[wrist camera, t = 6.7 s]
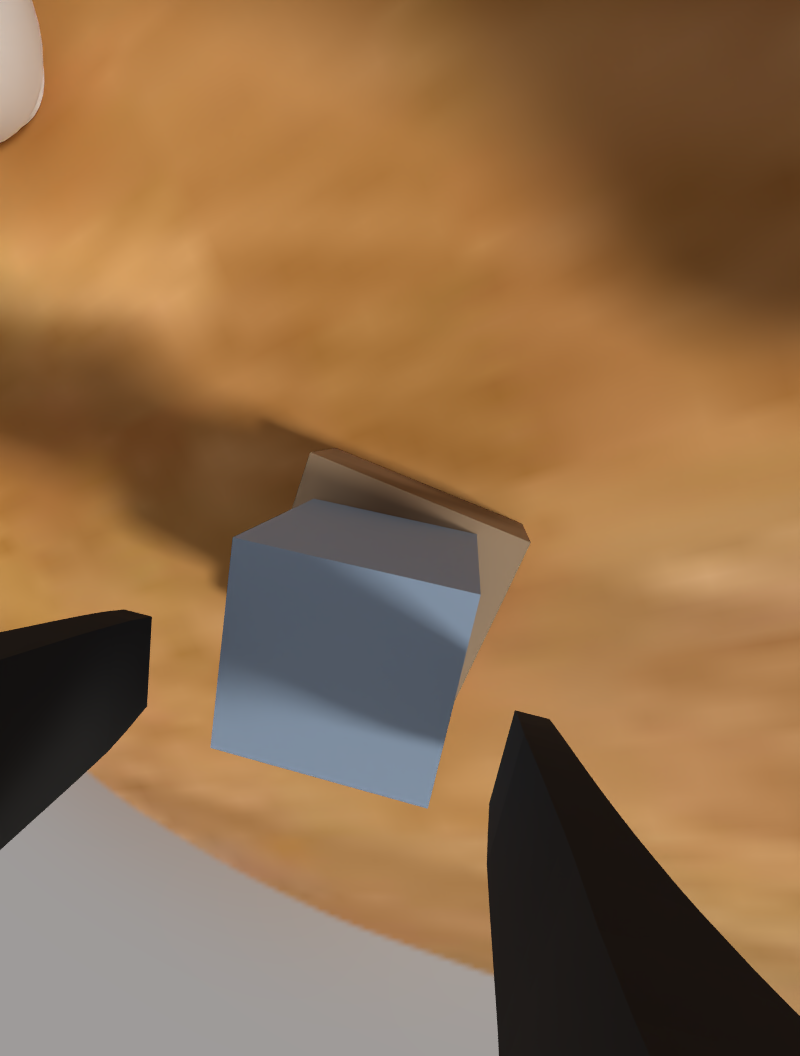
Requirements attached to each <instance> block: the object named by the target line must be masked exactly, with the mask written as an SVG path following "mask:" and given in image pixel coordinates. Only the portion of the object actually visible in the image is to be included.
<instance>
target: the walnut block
mask: <svg viewBox="0 0 800 1056" xmlns="http://www.w3.org/2000/svg"><path fill="white" fill-rule="evenodd" d="M312 499H318V500H323V501H327V502H332V503H336V504H341V505H345V506H350V507H355V508H359V509H364V510H368V511H373V512H377V513H382V514H387V515H391V516H396V517H400V518H405V519H409V520H414V521H419V522H423V523H428V524H432V525H437V526H441V527H446V528H451V529H455V530H460V531H464V532H469V533H473V534H477V544H478V560H479V575H480V591H481V596H480V600H479V604H478V608H477V612H476V616H475V620H474V624H473V628H472V632H471V636H470V640H469V644H468V648H467V652H466V656H465V660H464V664H463V668H462V672H461V676H460V680H459V684H458V688H457V692H456V696H455V699H456V697H457V695H458V693H459V691H460V689H461V687H462V685H463V683H464V681H465V678H466V676H467V674H468V672H469V670H470V668H471V666H472V664H473V662H474V660H475V658H476V655H477V653H478V651H479V649H480V647H481V645H482V643H483V641H484V639H485V637H486V635H487V633H488V630H489V628H490V626H491V624H492V622H493V620H494V618H495V616H496V614H497V612H498V610H499V607H500V605H501V603H502V601H503V599H504V597H505V595H506V593H507V591H508V589H509V587H510V585H511V582H512V580H513V578H514V576H515V574H516V572H517V570H518V568H519V566H520V564H521V562H522V559H523V557H524V555H525V553H526V551H527V549H528V547H529V545H530V543H531V542H530V540H529V538H528V536H527V533H526V531H525V529H524V527H523V525H522V524H521V523H518V522H516V521H514V520H511V519H509V518H506V517H504V516H501V515H499V514H496V513H494V512H492V511H489V510H487V509H484V508H482V507H479V506H477V505H474V504H472V503H469V502H467V501H465V500H462V499H460V498H457V497H455V496H452V495H450V494H447V493H445V492H442V491H440V490H438V489H435V488H433V487H430V486H428V485H425V484H423V483H420V482H418V481H415V480H413V479H411V478H408V477H406V476H403V475H401V474H398V473H396V472H393V471H391V470H388V469H386V468H384V467H381V466H379V465H376V464H374V463H371V462H369V461H366V460H364V459H361V458H359V457H357V456H354V455H352V454H349V453H347V452H344V451H342V450H339V449H337V448H333V449H327V450H321V451H314V452H310V454H309V458H308V461H307V464H306V467H305V470H304V473H303V476H302V479H301V482H300V485H299V488H298V491H297V495H296V498H295V501H294V504H293V507H292V509H293V508H295V507H297V506H299V505H302V504H304V503H306V502H308V501H310V500H312ZM454 701H455V700H454Z"/></svg>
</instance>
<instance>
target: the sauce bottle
mask: <svg viewBox="0 0 800 1056" xmlns="http://www.w3.org/2000/svg"><path fill="white" fill-rule="evenodd" d="M43 92H44V67H43V45H42V39H41V33H40V27H39V22H38V19H37V15H36V12H35V9H34V5H33V2H32V0H0V143H1V142H3V141H5V140H7V139H8V138H10V137H11V136H12V135H14V134H15V133H17V132H18V131H19V130H20V128H21V127H23V126H24V125H26V124H27V123H28V122H29V121H30V120H31V119H32V118H33V117H34V116H35V114H36V112H37V110H38V109H39V107H40V104H41V101H42V97H43Z"/></svg>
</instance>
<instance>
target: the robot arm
mask: <svg viewBox="0 0 800 1056" xmlns="http://www.w3.org/2000/svg"><path fill="white" fill-rule="evenodd" d="M151 622H152V617H151V616H147V615H143V614H139V613H135V612H132V611H128V610H116V611H107V612H100V613H94V614H89V615H83V616H78V617H73V618H68V619H62V620H58V621H53V622H48V623H43V624H38V625H33V626H29V627H24V628H19V629H14V630H9V631H4V632H0V849H2V848H3V847H4V846H5V845H6V844H7V843H8V842H9V841H10V840H12V839H13V838H14V837H15V836H16V835H17V834H18V833H19V832H20V831H21V830H22V829H24V828H25V827H26V826H27V825H28V824H29V823H30V822H31V821H32V820H34V819H35V818H36V817H37V816H38V815H39V814H40V813H41V812H43V811H44V810H45V809H46V808H47V807H48V806H49V805H50V804H51V803H52V802H53V801H55V800H56V799H57V798H58V797H59V796H60V795H61V794H62V793H63V792H65V791H66V790H67V789H68V788H69V787H70V786H71V785H72V784H73V783H74V782H76V781H77V780H78V779H79V778H80V777H81V776H82V775H83V774H84V773H85V772H86V771H87V770H89V769H90V768H91V767H92V766H93V765H94V764H95V763H96V762H97V761H98V760H99V759H100V758H101V757H102V756H104V755H105V754H106V753H107V752H108V751H109V750H110V749H111V747H112V746H113V745H114V744H115V743H116V742H117V741H118V740H119V739H120V737H121V736H122V735H123V734H124V733H125V732H126V731H127V730H128V728H129V727H130V726H131V725H132V724H133V722H134V721H135V720H136V719H137V718H138V716H139V715H140V714H141V713H142V712H143V710H144V709H145V708H146V707H147V695H148V677H149V659H150V640H151ZM487 874H488V890H489V906H490V922H491V936H492V951H493V966H494V981H495V995H496V1010H497V1025H498V1042H499V1056H800V1016H799V1015H798V1014H797V1013H796V1012H795V1011H794V1010H793V1009H792V1008H791V1007H790V1006H789V1005H788V1004H787V1003H786V1002H785V1001H784V1000H783V999H782V998H781V997H780V996H779V995H778V994H777V993H776V992H775V991H774V990H773V989H772V988H771V987H770V986H769V985H768V984H767V982H766V981H765V980H764V979H763V978H762V977H761V976H760V975H759V974H758V973H757V972H756V971H755V970H754V969H753V968H752V967H751V966H750V965H749V964H748V963H747V962H746V961H745V959H744V958H743V957H742V956H741V955H740V954H739V953H738V952H737V951H736V950H735V949H734V948H733V947H732V946H731V944H730V943H729V942H728V941H727V940H726V939H725V938H724V937H723V936H722V935H721V934H720V933H719V932H718V930H717V929H716V928H715V927H714V926H713V925H712V924H711V923H710V922H709V921H708V920H707V919H706V918H705V917H704V915H703V914H702V913H701V912H700V911H699V910H698V909H697V908H696V907H695V905H694V904H693V903H692V902H691V901H690V900H689V899H688V897H687V896H686V895H685V894H684V893H683V892H682V891H681V890H680V888H679V887H678V886H677V885H676V884H675V883H674V881H673V880H672V879H671V878H670V877H669V875H668V874H667V873H666V872H665V871H664V869H663V868H662V867H661V866H660V865H659V863H658V862H657V861H656V860H655V859H654V857H653V856H652V855H651V854H650V853H649V851H648V850H647V849H646V848H645V846H644V845H643V844H642V843H641V842H640V840H639V839H638V838H637V837H636V835H635V834H634V833H633V832H632V830H631V829H630V828H629V826H628V825H627V824H626V823H625V821H624V820H623V819H622V818H621V816H620V815H619V814H618V812H617V811H616V810H615V808H614V807H613V806H612V804H611V803H610V802H609V800H608V799H607V798H606V796H605V795H604V794H603V792H602V791H601V790H600V788H599V787H598V786H597V784H596V783H595V782H594V780H593V779H592V778H591V776H590V775H589V773H588V772H587V771H586V769H585V768H584V766H583V765H582V764H581V762H580V761H579V759H578V758H577V757H576V755H575V754H574V752H573V751H572V750H571V748H570V747H569V745H568V744H567V743H566V741H565V740H564V738H563V737H562V736H561V734H560V733H559V731H558V730H557V729H556V727H555V726H554V725H553V723H552V722H551V721H550V719H547V718H543V717H539V716H535V715H531V714H527V713H523V712H519V711H516V710H515V712H514V716H513V720H512V723H511V727H510V731H509V734H508V738H507V741H506V745H505V749H504V752H503V756H502V760H501V763H500V767H499V770H498V774H497V778H496V781H495V785H494V789H493V792H492V796H491V799H490V803H489V823H488V847H487Z"/></svg>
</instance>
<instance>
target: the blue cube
mask: <svg viewBox="0 0 800 1056" xmlns="http://www.w3.org/2000/svg"><path fill="white" fill-rule="evenodd" d="M480 596H481V591H480V575H479V560H478V544H477V534H473V533H469V532H464V531H460V530H455V529H451V528H446V527H441V526H437V525H432V524H428V523H423V522H419V521H414V520H409V519H405V518H400V517H396V516H391V515H387V514H382V513H377V512H373V511H368V510H364V509H359V508H355V507H350V506H345V505H341V504H336V503H332V502H327V501H323V500H318V499H312V500H310V501H308V502H306V503H304V504H302V505H299V506H297V507H295V508H293V509H291V510H289V511H287V512H285V513H283V514H281V515H279V516H276V517H274V518H272V519H270V520H268V521H266V522H264V523H262V524H260V525H258V526H255V527H253V528H251V529H249V530H247V531H245V532H243V533H241V534H239V535H237V536H234V537H233V540H232V550H231V559H230V569H229V578H228V588H227V597H226V607H225V616H224V625H223V635H222V644H221V654H220V663H219V673H218V682H217V692H216V701H215V711H214V720H213V730H212V739H211V748H213V749H217V750H220V751H224V752H228V753H231V754H235V755H238V756H242V757H245V758H249V759H253V760H256V761H260V762H263V763H267V764H270V765H274V766H278V767H281V768H285V769H288V770H292V771H295V772H299V773H303V774H306V775H310V776H313V777H317V778H320V779H324V780H328V781H331V782H335V783H338V784H342V785H345V786H349V787H353V788H356V789H360V790H363V791H367V792H370V793H374V794H378V795H381V796H385V797H388V798H392V799H395V800H399V801H403V802H406V803H410V804H413V805H417V806H420V807H424V808H428V805H429V801H430V797H431V793H432V789H433V785H434V781H435V777H436V773H437V769H438V765H439V761H440V757H441V753H442V749H443V745H444V741H445V737H446V733H447V729H448V725H449V720H450V716H451V712H452V708H453V704H454V700H455V696H456V692H457V688H458V684H459V680H460V676H461V672H462V668H463V664H464V660H465V656H466V652H467V648H468V644H469V640H470V636H471V632H472V628H473V624H474V620H475V616H476V612H477V608H478V604H479V600H480Z"/></svg>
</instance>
